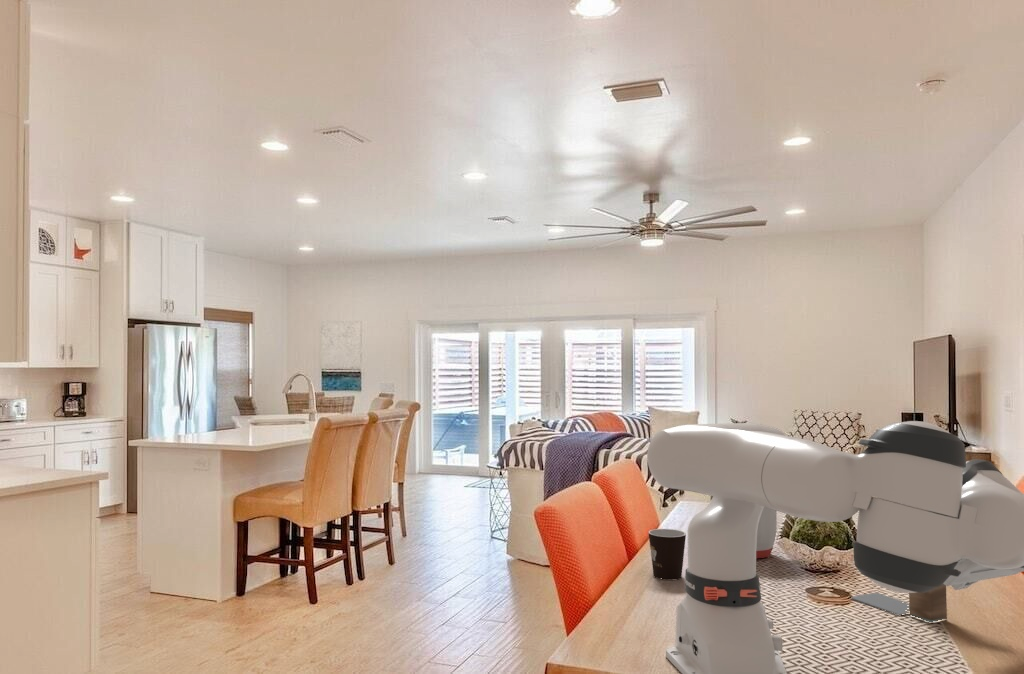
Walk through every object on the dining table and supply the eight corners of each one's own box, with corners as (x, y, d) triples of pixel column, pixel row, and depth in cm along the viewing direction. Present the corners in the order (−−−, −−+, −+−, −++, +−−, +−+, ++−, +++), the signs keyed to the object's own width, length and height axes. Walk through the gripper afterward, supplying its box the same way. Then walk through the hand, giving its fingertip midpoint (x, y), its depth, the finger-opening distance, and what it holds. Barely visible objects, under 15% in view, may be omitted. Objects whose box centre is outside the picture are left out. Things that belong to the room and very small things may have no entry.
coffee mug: (687, 582, 165) (686, 537, 166) (648, 580, 167) (648, 536, 167) (685, 568, 176) (685, 527, 177) (649, 566, 178) (648, 525, 179)
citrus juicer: (797, 558, 187) (795, 479, 188) (742, 564, 180) (741, 483, 181) (755, 544, 201) (754, 471, 202) (703, 550, 195) (702, 474, 196)
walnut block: (947, 620, 140) (945, 557, 141) (930, 623, 138) (929, 559, 139) (925, 613, 144) (924, 552, 145) (909, 616, 143) (908, 554, 143)
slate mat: (928, 611, 146) (928, 609, 146) (899, 616, 143) (899, 614, 143) (876, 594, 157) (876, 592, 157) (849, 598, 154) (849, 597, 154)
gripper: (982, 566, 121) (930, 608, 130) (1059, 554, 129) (1004, 594, 138) (956, 534, 126) (907, 576, 134) (1032, 524, 134) (980, 565, 142)
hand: (957, 585), depth 136 cm, fingers closed
